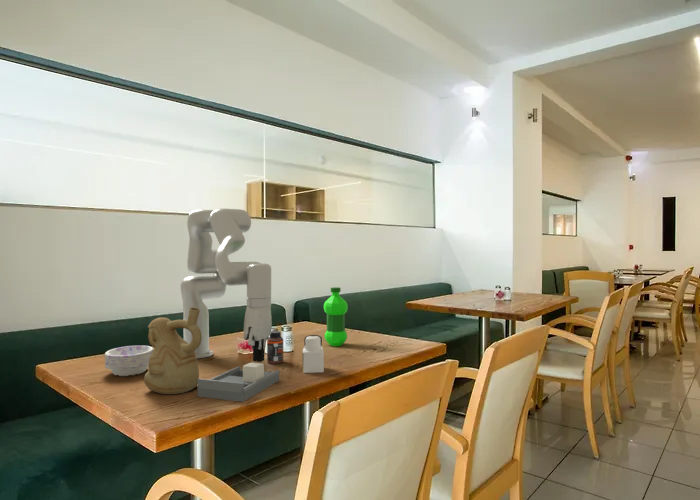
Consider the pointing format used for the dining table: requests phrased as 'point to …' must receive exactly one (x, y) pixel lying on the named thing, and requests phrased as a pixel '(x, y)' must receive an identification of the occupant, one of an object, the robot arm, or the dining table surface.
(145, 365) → the paper bowls
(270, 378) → the tray
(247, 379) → the cream block
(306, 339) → the medicine bottle
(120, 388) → the dining table surface
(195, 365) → the ceramic vessel
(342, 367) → the dining table surface
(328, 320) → the plastic bottle
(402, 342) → the dining table surface
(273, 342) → the supplement bottle
